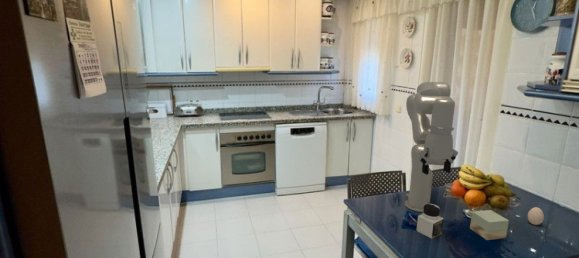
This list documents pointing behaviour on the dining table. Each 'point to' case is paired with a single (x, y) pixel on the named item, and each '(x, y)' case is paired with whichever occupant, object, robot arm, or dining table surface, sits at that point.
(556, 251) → the dining table surface
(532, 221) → the egg
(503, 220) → the block top
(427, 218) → the medicine bottle
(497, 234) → the block bottom
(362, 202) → the dining table surface
